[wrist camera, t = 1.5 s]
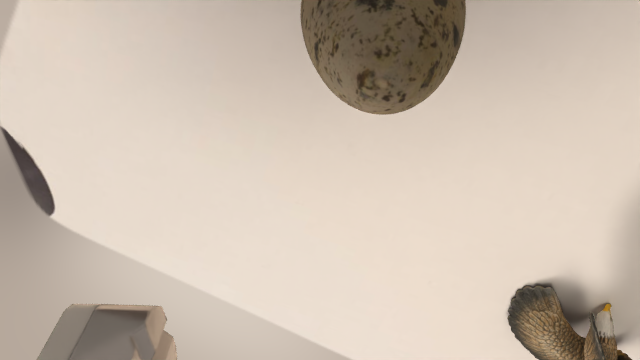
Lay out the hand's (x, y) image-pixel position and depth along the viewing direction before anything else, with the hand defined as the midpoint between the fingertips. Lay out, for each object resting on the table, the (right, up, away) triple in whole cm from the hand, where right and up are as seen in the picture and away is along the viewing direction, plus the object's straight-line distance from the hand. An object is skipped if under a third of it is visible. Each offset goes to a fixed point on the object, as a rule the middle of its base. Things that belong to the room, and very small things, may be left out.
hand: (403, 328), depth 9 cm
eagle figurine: (+15, -6, +27) cm, 31 cm away
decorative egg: (+1, +11, +15) cm, 19 cm away
